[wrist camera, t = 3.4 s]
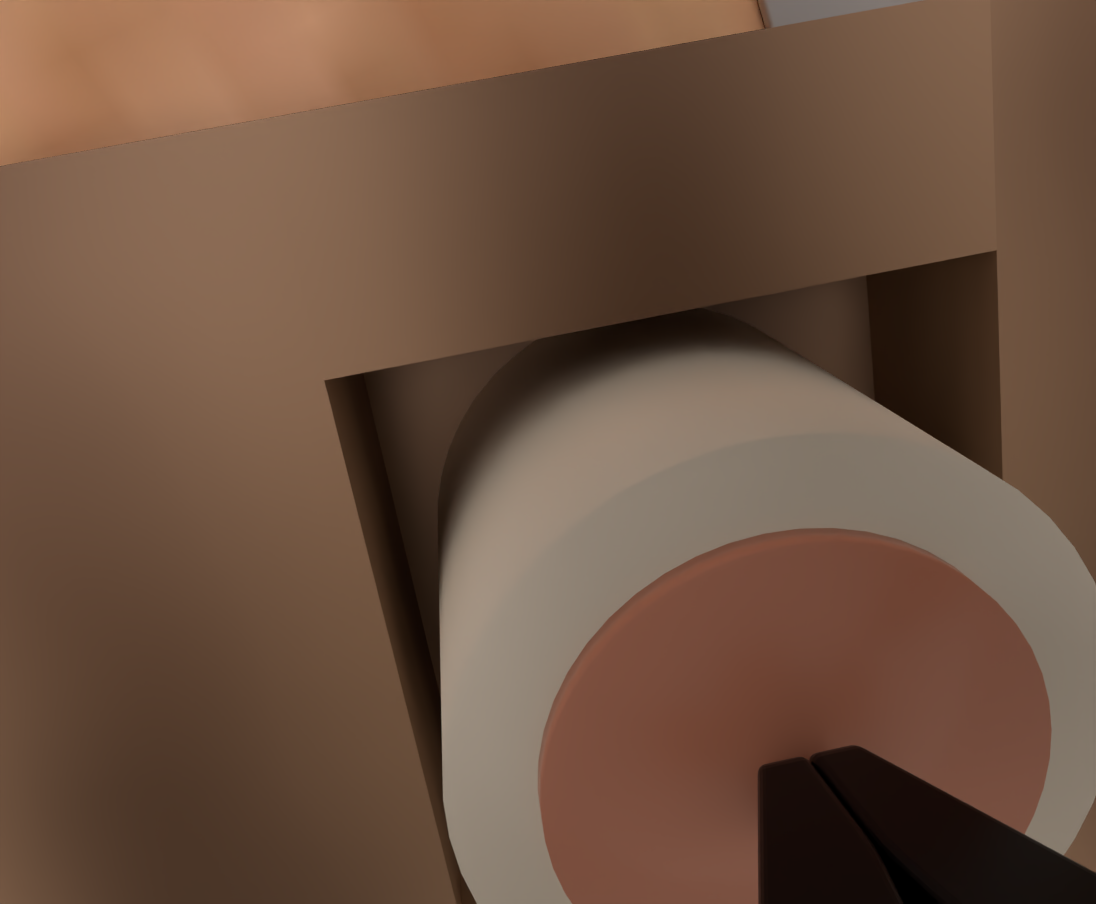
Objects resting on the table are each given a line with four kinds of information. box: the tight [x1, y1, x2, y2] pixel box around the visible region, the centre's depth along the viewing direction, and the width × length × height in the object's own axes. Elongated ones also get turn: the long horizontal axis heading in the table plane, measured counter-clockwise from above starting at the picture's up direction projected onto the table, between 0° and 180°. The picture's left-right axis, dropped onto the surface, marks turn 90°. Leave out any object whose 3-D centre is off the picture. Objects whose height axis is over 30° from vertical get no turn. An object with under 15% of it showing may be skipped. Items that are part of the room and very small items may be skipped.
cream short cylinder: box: [438, 308, 1096, 904], centre depth 11 cm, size 6×6×6 cm
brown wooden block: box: [0, 0, 1096, 904], centre depth 13 cm, size 18×12×4 cm, turn 100°
